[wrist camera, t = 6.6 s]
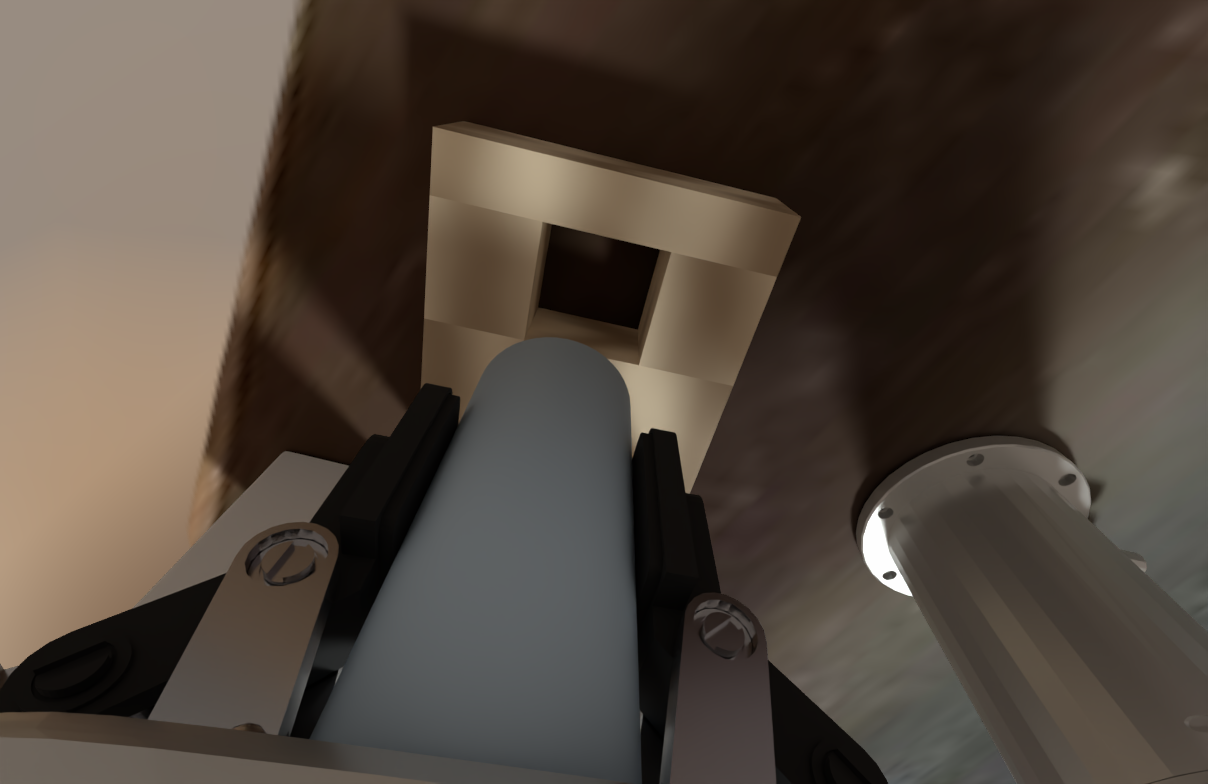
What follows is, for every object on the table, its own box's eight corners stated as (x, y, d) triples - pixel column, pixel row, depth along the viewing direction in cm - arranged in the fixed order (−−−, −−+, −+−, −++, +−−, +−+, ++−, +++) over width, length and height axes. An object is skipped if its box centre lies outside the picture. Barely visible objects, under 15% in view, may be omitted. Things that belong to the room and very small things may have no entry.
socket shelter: (797, 203, 23) (1041, 371, 9) (678, 504, 32) (712, 811, 19) (440, 115, 22) (120, 157, 8) (422, 453, 31) (258, 740, 18)
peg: (647, 356, 13) (704, 932, 4) (611, 478, 15) (598, 1035, 6) (484, 321, 12) (173, 870, 4) (470, 452, 14) (246, 1003, 6)
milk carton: (285, 448, 32) (-88, 833, 15) (401, 475, 32) (165, 873, 16) (288, 528, 35) (-11, 912, 19) (393, 552, 36) (193, 942, 19)
